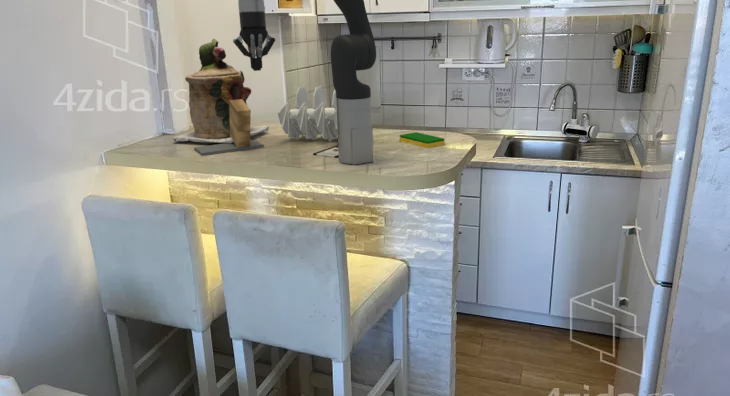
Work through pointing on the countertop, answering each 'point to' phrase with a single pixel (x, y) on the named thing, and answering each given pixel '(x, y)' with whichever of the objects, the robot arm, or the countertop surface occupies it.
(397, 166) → the countertop surface
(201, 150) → the rubber mat
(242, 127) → the tall wooden block
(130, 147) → the countertop surface
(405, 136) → the dish sponge
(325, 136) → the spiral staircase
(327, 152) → the chocolate bar
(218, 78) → the cookie jar
